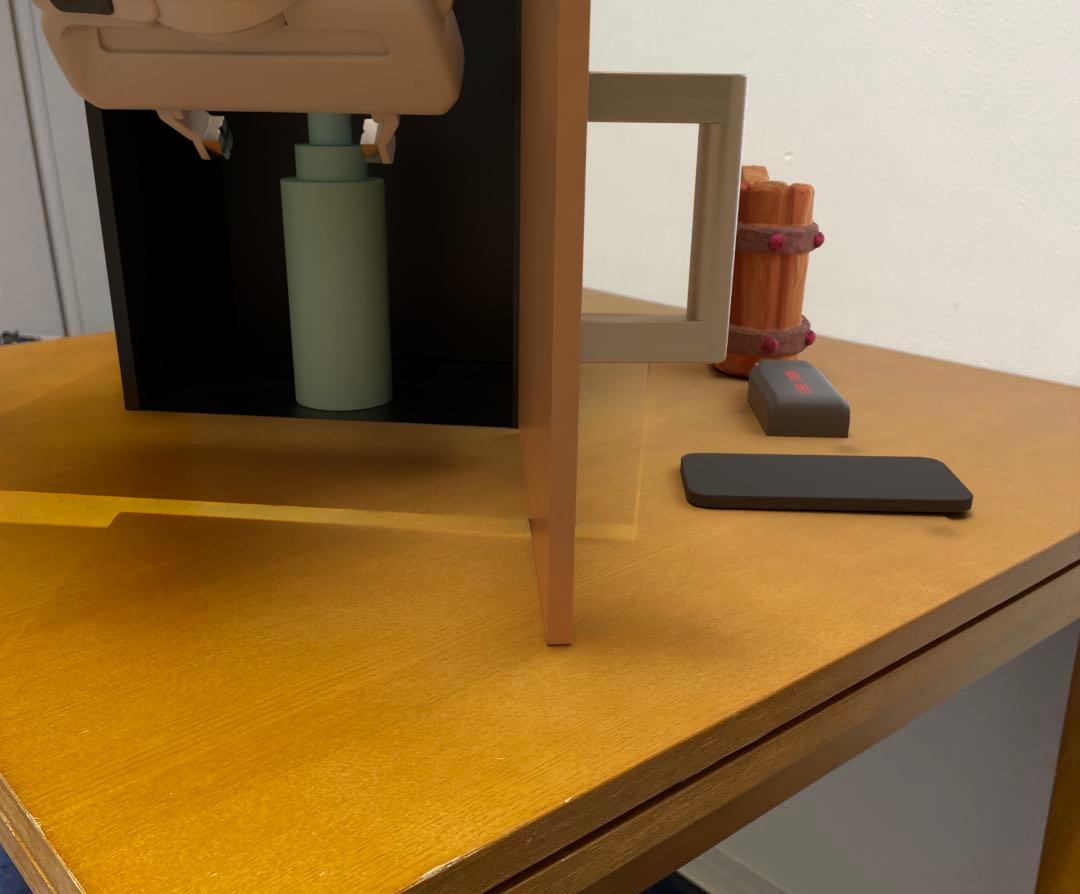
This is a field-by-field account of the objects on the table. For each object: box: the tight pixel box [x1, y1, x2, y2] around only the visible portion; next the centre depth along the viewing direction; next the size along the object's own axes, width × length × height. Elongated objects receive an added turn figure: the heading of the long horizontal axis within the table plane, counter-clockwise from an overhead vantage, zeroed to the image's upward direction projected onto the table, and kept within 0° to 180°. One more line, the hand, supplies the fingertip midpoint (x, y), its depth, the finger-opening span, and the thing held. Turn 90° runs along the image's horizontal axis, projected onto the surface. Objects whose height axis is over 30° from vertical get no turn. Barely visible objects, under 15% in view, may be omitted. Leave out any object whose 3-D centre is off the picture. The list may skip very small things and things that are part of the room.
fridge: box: [83, 0, 522, 430], centre depth 71 cm, size 18×26×32 cm
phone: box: [679, 452, 974, 513], centre depth 60 cm, size 7×1×15 cm
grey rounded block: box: [746, 359, 851, 439], centre depth 75 cm, size 5×12×3 cm, turn 178°
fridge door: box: [517, 0, 750, 645], centre depth 49 cm, size 7×26×32 cm, turn 4°
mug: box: [713, 164, 825, 379], centre depth 86 cm, size 15×8×15 cm, turn 0°
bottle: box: [280, 113, 393, 411], centre depth 69 cm, size 6×6×20 cm
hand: (299, 152), depth 62 cm, fingers open, 8 cm apart
